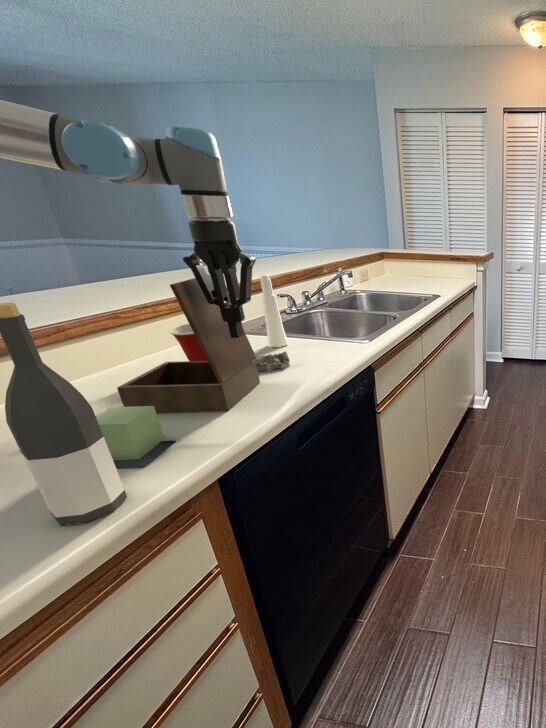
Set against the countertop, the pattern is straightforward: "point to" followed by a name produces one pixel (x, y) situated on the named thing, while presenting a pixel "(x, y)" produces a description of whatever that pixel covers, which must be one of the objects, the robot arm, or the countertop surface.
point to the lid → (212, 331)
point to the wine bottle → (57, 432)
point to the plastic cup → (188, 342)
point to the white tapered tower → (272, 315)
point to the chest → (188, 388)
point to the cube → (130, 431)
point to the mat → (144, 457)
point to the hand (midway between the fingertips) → (237, 336)
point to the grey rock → (272, 362)
